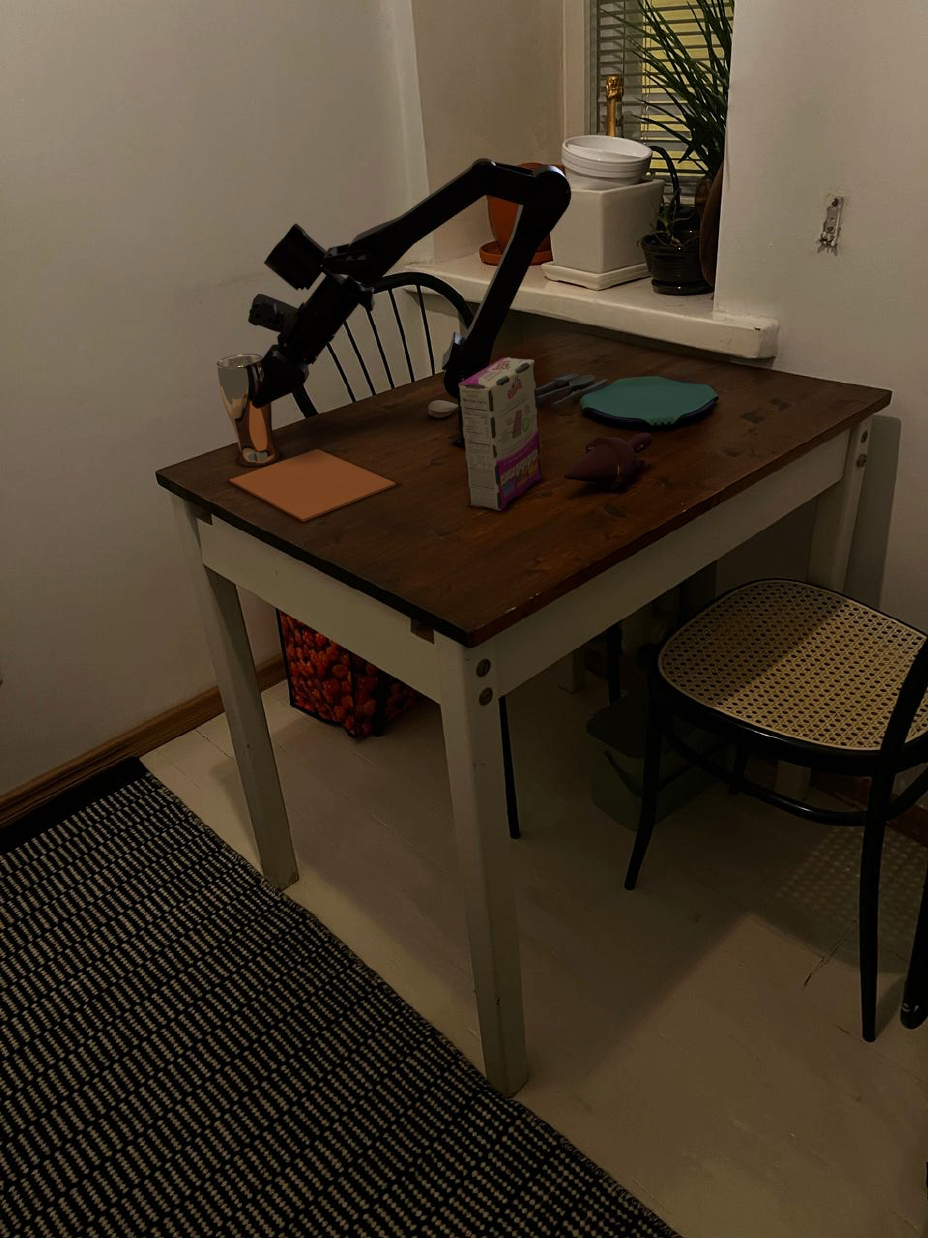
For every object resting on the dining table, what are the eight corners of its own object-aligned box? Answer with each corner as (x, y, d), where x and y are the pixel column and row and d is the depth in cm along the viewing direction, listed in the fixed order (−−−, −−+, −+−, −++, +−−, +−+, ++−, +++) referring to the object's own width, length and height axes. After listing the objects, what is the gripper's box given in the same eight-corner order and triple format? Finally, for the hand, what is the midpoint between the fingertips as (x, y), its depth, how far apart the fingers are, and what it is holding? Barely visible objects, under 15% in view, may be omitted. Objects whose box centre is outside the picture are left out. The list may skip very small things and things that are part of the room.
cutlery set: (667, 442, 136) (667, 426, 135) (509, 406, 155) (508, 392, 154) (739, 402, 148) (740, 387, 147) (584, 372, 167) (584, 359, 165)
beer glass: (239, 452, 146) (218, 355, 139) (284, 448, 147) (266, 350, 139) (233, 470, 140) (211, 369, 133) (280, 464, 141) (261, 364, 133)
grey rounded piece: (425, 414, 155) (424, 399, 153) (454, 409, 156) (453, 394, 154) (433, 422, 151) (432, 407, 150) (463, 416, 152) (462, 401, 151)
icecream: (590, 466, 115) (674, 441, 123) (551, 437, 119) (634, 415, 127) (577, 514, 119) (659, 487, 127) (540, 484, 123) (621, 460, 131)
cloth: (396, 485, 131) (395, 482, 131) (303, 522, 123) (302, 519, 123) (317, 451, 144) (317, 448, 144) (229, 482, 137) (229, 479, 136)
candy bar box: (510, 474, 131) (502, 355, 122) (542, 479, 128) (537, 358, 120) (467, 506, 123) (456, 381, 115) (500, 512, 121) (492, 386, 112)
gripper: (288, 259, 137) (228, 341, 144) (263, 288, 122) (197, 379, 128) (350, 311, 141) (288, 389, 147) (333, 346, 125) (265, 432, 132)
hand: (260, 395), depth 138 cm, fingers open, 9 cm apart
